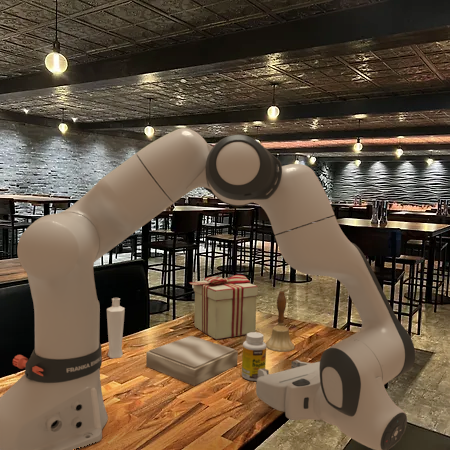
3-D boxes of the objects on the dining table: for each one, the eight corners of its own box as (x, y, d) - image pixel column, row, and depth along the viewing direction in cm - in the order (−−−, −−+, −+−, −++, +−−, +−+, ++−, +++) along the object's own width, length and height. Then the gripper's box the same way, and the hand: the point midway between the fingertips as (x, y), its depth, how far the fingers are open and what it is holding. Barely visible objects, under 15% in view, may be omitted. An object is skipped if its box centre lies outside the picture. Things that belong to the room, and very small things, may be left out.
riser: (194, 385, 97) (194, 368, 97) (146, 366, 107) (146, 350, 107) (237, 364, 110) (237, 349, 109) (190, 348, 120) (191, 334, 119)
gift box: (225, 318, 150) (226, 268, 149) (259, 333, 135) (261, 278, 134) (182, 325, 140) (183, 272, 139) (214, 342, 125) (216, 283, 124)
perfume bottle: (102, 357, 112) (102, 299, 110) (112, 351, 116) (112, 296, 115) (117, 360, 110) (118, 301, 109) (127, 354, 114) (128, 298, 113)
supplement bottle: (250, 383, 99) (252, 340, 98) (236, 374, 104) (238, 333, 103) (269, 378, 102) (271, 336, 101) (255, 370, 107) (257, 329, 106)
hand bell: (291, 353, 119) (294, 296, 117) (262, 349, 121) (264, 292, 120) (296, 343, 126) (299, 289, 125) (269, 339, 129) (271, 286, 128)
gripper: (360, 367, 89) (312, 345, 101) (285, 389, 78) (240, 362, 90) (359, 396, 90) (311, 372, 101) (283, 422, 79) (239, 391, 90)
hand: (277, 367), depth 95 cm, fingers open, 8 cm apart
